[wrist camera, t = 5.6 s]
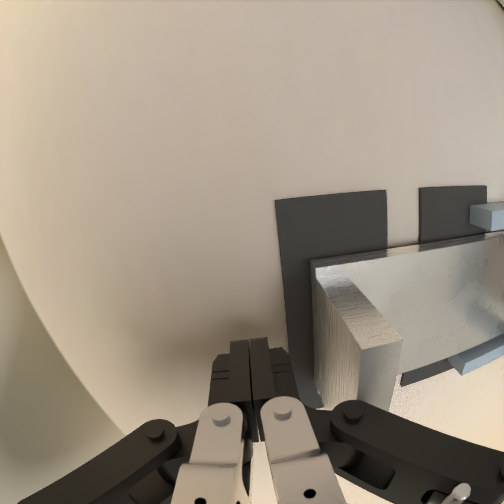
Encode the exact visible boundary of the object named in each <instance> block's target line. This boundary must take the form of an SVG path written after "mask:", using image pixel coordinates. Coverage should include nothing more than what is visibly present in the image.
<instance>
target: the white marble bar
mask: <svg viewBox="0 0 504 504" xmlns="http://www.w3.org/2000/svg"><path fill="white" fill-rule="evenodd" d="M310 270H311V287H312V309H313V339H314V383H315V386H316V389H317V392H318V394H320V396H321V399H322V402H323V405H324V408H325V410H333V409H334V407H335V406H337V405H338V404H339V403H341V402H344V401H347V400H361V401H364V402H366V403H369V404H371V405H373V406H376V407H378V408H380V409H383V410H385V411H387V412H388V410H389V406H390V402H391V398H392V394H393V390H394V385H395V381H396V376H397V375H398V374H401V373H404V372H408V371H411V370H414V369H417V368H420V367H423V366H426V365H429V364H431V363H434V362H437V361H440V360H442V359H445V358H448V357H450V356H453V355H455V354H458V353H460V352H463V351H465V350H468V349H470V348H472V347H475V346H477V345H479V344H481V343H484V342H486V341H488V340H490V339H492V338H494V337H497V336H499V335H501V334H503V333H504V231H498V232H492V233H486V234H480V235H474V236H468V237H462V238H456V239H449V240H443V241H437V242H430V243H424V244H417V245H411V246H404V247H398V248H391V249H384V250H378V251H371V252H364V253H357V254H350V255H343V256H336V257H329V258H322V259H315V260H310Z"/></svg>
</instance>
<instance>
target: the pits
mask: <svg viewBox="0 0 504 504" xmlns="http://www.w3.org/2000/svg"><path fill="white" fill-rule="evenodd" d="M419 199H420V234H419V244H424V243H430V242H437V241H443V240H449V239H456V238H462V237H468V236H474V235H480V234H485V230H486V229H484V228H481V227H478V226H475V225H472V224H470V205H478V204H487V186H450V187H426V188H419ZM275 206H276V215H277V225H278V234H279V244H280V254H281V264H282V274H283V285H284V296H285V308H286V319H287V332H288V344H289V357H290V361H291V365H292V369H293V373H294V377H295V381H296V386H297V390H298V394H299V397H300V400H301V401H302V402H303V403H304V404H305V405H306V406H308V407H310V408H313V409H317V408H322V407H324V405H323V402H322V399H321V396H320V394H318V392H317V389H316V386H315V383H314V339H313V309H312V287H311V270H310V260H315V259H322V258H329V257H336V256H343V255H350V254H357V253H364V252H371V251H378V250H384V249H387V196H386V190H377V191H364V192H351V193H340V194H329V195H319V196H309V197H299V198H290V199H281V200H275ZM452 368H454V367H453V366H452V365H451V364H450V363H449V361H448V358H445V359H442V360H440V361H437V362H434V363H431V364H429V365H426V366H423V367H420V368H417V369H414V370H411V371H408V372H404V373H403V375H402V380H401V384H400V385H401V387H403V386H406V385H409V384H412V383H415V382H418V381H421V380H423V379H426V378H429V377H432V376H434V375H437V374H440V373H442V372H445V371H447V370H450V369H452Z"/></svg>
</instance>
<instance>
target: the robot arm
mask: <svg viewBox="0 0 504 504" xmlns="http://www.w3.org/2000/svg"><path fill="white" fill-rule="evenodd" d="M249 341H250V347H249ZM249 341H248V340H239V341H230V354H220V355H218V356H217V358H216V359H215V360H214V362H213V365H212V374H211V383H210V392H209V401H208V407H207V408H206V409H205V410H204V411H203V412H202V413H201V415H200V418H199V420H197V421H195V422H193V423H190V424H187V425H183V426H179V427H175V426H174V424H172V423H171V422H169V421H167V420H163V419H156V420H151V421H148V422H146V423H144V424H143V425H141V426H140V427H139V428H137V429H136V430H134V431H133V432H132V433H130V434H129V435H127V436H126V437H124V438H123V439H121V440H120V441H119V442H117V443H116V444H114V445H113V446H111V447H110V448H108V449H107V450H105V451H104V452H102V453H101V454H99V455H98V456H96V457H94V458H93V459H91V460H90V461H88V462H87V463H85V464H83V465H82V466H80V467H79V468H77V469H75V470H74V471H72V472H71V473H69V474H67V475H66V476H64V477H63V478H61V479H59V480H57V481H55V482H54V483H52V484H50V485H49V486H47V487H45V488H43V489H42V490H40V491H38V492H36V493H34V494H32V495H31V496H29V497H27V498H25V499H23V500H21V501H20V502H18V503H17V504H252V502H251V496H252V475H253V442H259V436H258V429H259V435H260V440H261V441H265V444H266V450H267V456H268V461H269V466H270V471H271V475H272V480H273V485H274V489H275V494H276V499H277V504H347V503H346V501H345V498H344V496H343V493H342V491H341V488H340V486H339V483H338V480H337V478H336V475H335V473H336V474H337V475H339V476H341V477H343V478H344V479H346V480H348V481H350V482H352V483H353V484H355V485H357V486H359V487H361V488H363V489H365V490H367V491H369V492H371V493H373V494H375V495H377V496H379V497H381V498H383V499H385V500H387V501H389V502H392V503H394V504H501V503H502V502H503V501H504V452H502V451H498V450H494V449H491V448H487V447H484V446H481V445H477V444H474V443H471V442H468V441H465V440H462V439H459V438H456V437H453V436H450V435H447V434H444V433H441V432H439V431H436V430H433V429H430V428H428V427H425V426H422V425H420V424H417V423H415V422H412V421H409V420H407V419H404V418H402V417H399V416H397V415H395V414H392V413H390V412H387V411H385V410H383V409H380V408H378V407H376V406H373V405H371V404H369V403H366V402H364V401H361V400H347V401H344V402H341V403H339V404H338V405H337V406H335V407H334V409H333V410H317V409H313V408H310V407H308V406H306V405H305V404H304V403H303V402H302V401H301V400H300V397H299V394H298V390H297V386H296V381H295V377H294V373H293V369H292V365H291V361H290V357H289V354H288V353H287V352H286V351H285V350H284V349H283V348H282V347H280V348H273V349H269V346H268V340H267V337H264V338H256V339H249Z"/></svg>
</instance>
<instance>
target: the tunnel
mask: <svg viewBox="0 0 504 504" xmlns="http://www.w3.org/2000/svg"><path fill="white" fill-rule="evenodd" d="M470 224H472V225H475V226H478V227H481V228H484V229H486V230H489V231H496V230H502V229H504V202H495V203H487V204H478V205H470ZM502 355H504V333H503V334H501V335H499V336H497V337H494V338H492V339H490V340H488V341H486V342H484V343H481V344H479V345H477V346H475V347H472V348H470V349H468V350H465V351H463V352H460V353H458V354H455V355H453V356H450V357H448V361H449V363H450V364H451V365H452V366H453V367H454V368H455V369H456V370H457V371H458V372H459V374H460V375H461V376H462V375H464V374H466V373H468V372H470V371H473V370H475V369H477V368H479V367H481V366H483V365H485V364H487V363H489V362H491V361H493V360H495V359H497V358H498V357H500V356H502Z"/></svg>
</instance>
